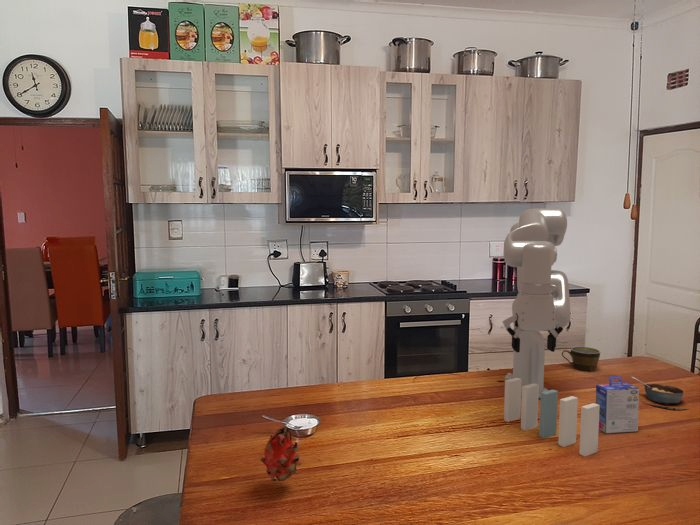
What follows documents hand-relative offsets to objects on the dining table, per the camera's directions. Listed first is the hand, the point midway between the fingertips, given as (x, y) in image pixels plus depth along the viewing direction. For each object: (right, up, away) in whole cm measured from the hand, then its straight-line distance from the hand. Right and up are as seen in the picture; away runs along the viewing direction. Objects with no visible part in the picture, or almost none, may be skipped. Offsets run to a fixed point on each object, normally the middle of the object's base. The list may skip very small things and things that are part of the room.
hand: (533, 350), depth 140 cm
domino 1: (-4, -21, +7) cm, 23 cm away
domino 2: (-1, -22, +2) cm, 22 cm away
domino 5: (+9, -23, -13) cm, 28 cm away
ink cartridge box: (+23, -22, +1) cm, 32 cm away
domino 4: (+6, -23, -8) cm, 25 cm away
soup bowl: (+48, -21, +21) cm, 56 cm away
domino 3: (+3, -22, -3) cm, 23 cm away
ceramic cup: (+35, -18, +49) cm, 63 cm away
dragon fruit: (-66, -24, -28) cm, 75 cm away
